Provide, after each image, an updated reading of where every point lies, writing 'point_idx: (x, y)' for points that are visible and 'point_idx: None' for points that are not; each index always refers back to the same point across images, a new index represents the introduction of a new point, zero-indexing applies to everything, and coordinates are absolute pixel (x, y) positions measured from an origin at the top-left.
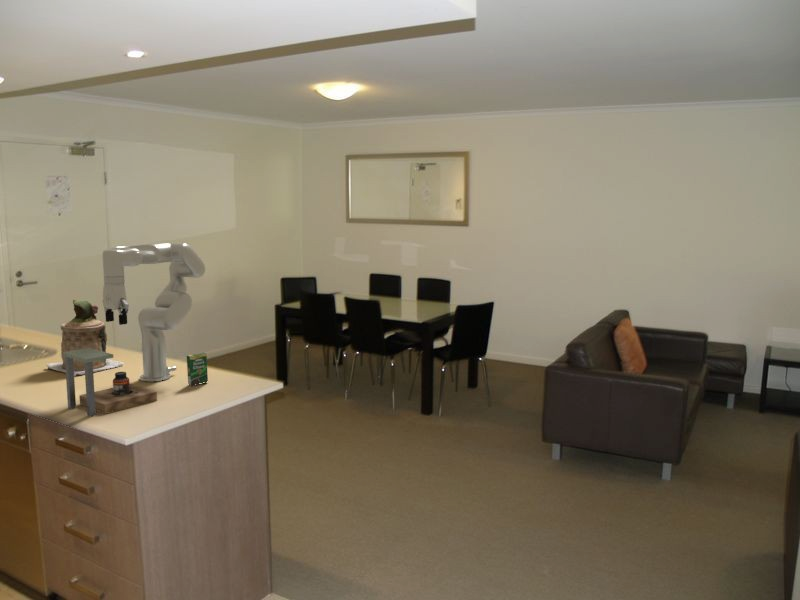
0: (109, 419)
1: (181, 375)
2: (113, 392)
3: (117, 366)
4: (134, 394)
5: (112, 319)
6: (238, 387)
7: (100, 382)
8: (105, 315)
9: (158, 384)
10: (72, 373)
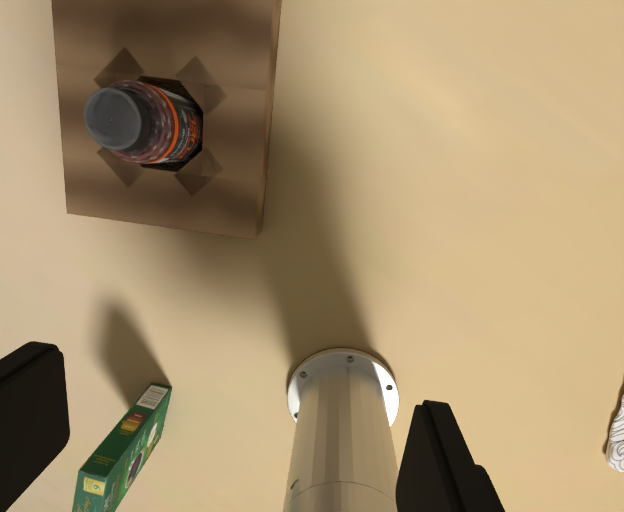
0: None
1: None
2: (176, 94)
3: (610, 437)
4: None
5: (401, 495)
6: None
7: (487, 259)
8: (483, 491)
9: (264, 347)
10: None
